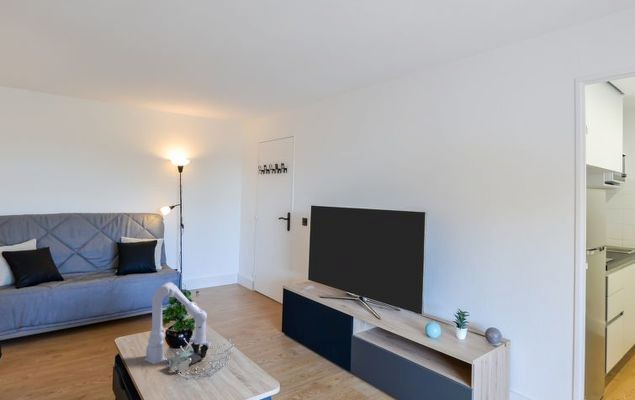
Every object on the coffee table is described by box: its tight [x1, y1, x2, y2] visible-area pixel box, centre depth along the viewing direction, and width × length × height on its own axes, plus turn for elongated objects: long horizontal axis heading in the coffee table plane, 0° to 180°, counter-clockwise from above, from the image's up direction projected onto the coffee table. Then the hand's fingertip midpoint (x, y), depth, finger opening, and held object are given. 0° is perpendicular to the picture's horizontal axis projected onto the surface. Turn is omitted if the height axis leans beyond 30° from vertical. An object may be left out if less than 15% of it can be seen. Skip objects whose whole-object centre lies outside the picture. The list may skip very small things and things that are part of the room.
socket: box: [168, 356, 190, 374], centre depth 190 cm, size 8×6×6 cm
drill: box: [186, 349, 203, 365], centre depth 198 cm, size 11×5×5 cm, turn 153°
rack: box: [167, 348, 194, 363], centre depth 202 cm, size 8×15×2 cm, turn 148°
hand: (200, 356), depth 202 cm, fingers closed on drill, 5 cm apart
